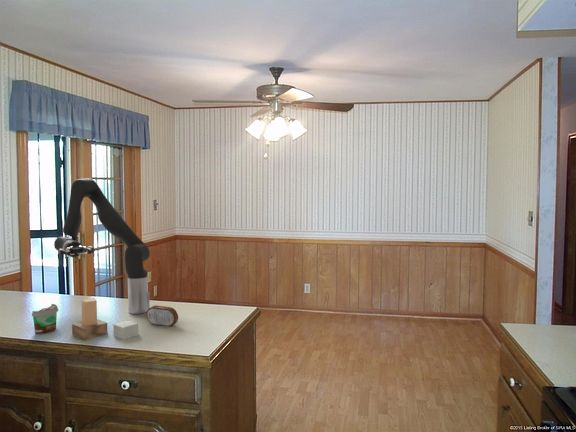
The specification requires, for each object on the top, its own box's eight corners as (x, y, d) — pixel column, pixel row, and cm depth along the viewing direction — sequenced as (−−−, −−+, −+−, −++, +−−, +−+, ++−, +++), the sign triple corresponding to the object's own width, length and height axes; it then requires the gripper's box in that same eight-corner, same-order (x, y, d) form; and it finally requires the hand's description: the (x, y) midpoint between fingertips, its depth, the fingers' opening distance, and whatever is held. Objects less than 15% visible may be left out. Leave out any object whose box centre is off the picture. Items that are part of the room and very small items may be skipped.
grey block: (128, 331, 194) (128, 320, 194) (138, 335, 190) (137, 323, 189) (113, 336, 189) (113, 324, 188) (123, 339, 184) (122, 327, 184)
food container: (45, 336, 188) (44, 312, 187) (32, 335, 189) (31, 311, 189) (65, 326, 200) (64, 304, 199) (53, 325, 202) (52, 303, 201)
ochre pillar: (95, 320, 193) (94, 297, 192) (97, 324, 189) (96, 300, 188) (82, 322, 191) (81, 299, 190) (84, 326, 186) (83, 302, 186)
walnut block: (95, 329, 197) (94, 318, 197) (107, 334, 191) (107, 322, 191) (72, 335, 189) (71, 324, 189) (84, 341, 183) (84, 329, 183)
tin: (178, 325, 201) (178, 307, 201) (174, 328, 198) (174, 309, 198) (150, 322, 206) (149, 304, 206) (145, 324, 203) (145, 306, 203)
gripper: (55, 241, 212) (62, 245, 199) (88, 239, 221) (96, 243, 208) (56, 257, 213) (62, 262, 200) (88, 254, 221) (96, 259, 208)
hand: (79, 252), depth 204 cm, fingers open, 8 cm apart
